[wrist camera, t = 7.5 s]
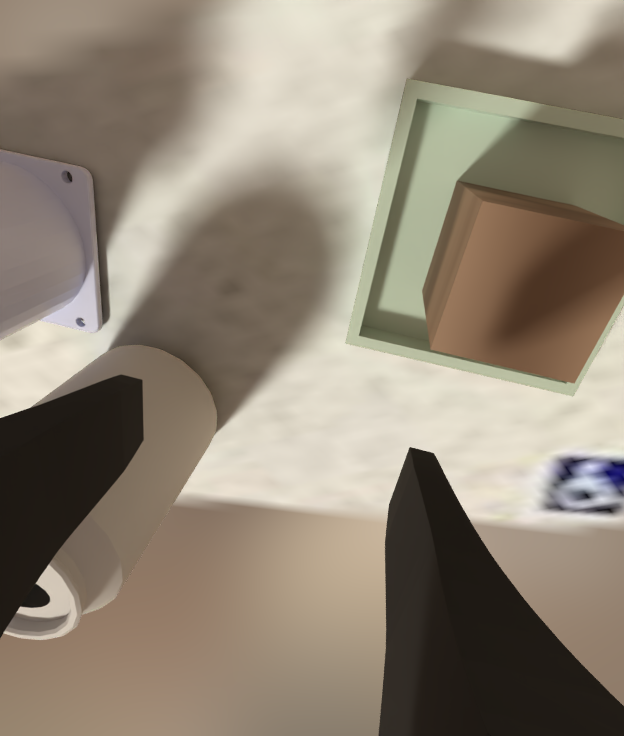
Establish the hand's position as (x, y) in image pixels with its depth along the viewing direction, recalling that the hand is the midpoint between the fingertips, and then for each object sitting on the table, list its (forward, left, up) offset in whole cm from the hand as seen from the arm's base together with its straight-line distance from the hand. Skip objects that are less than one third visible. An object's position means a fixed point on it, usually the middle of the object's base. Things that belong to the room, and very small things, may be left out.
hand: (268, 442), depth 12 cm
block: (+6, +4, -10) cm, 13 cm away
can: (-8, -8, -11) cm, 15 cm away
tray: (+6, +4, -10) cm, 13 cm away
